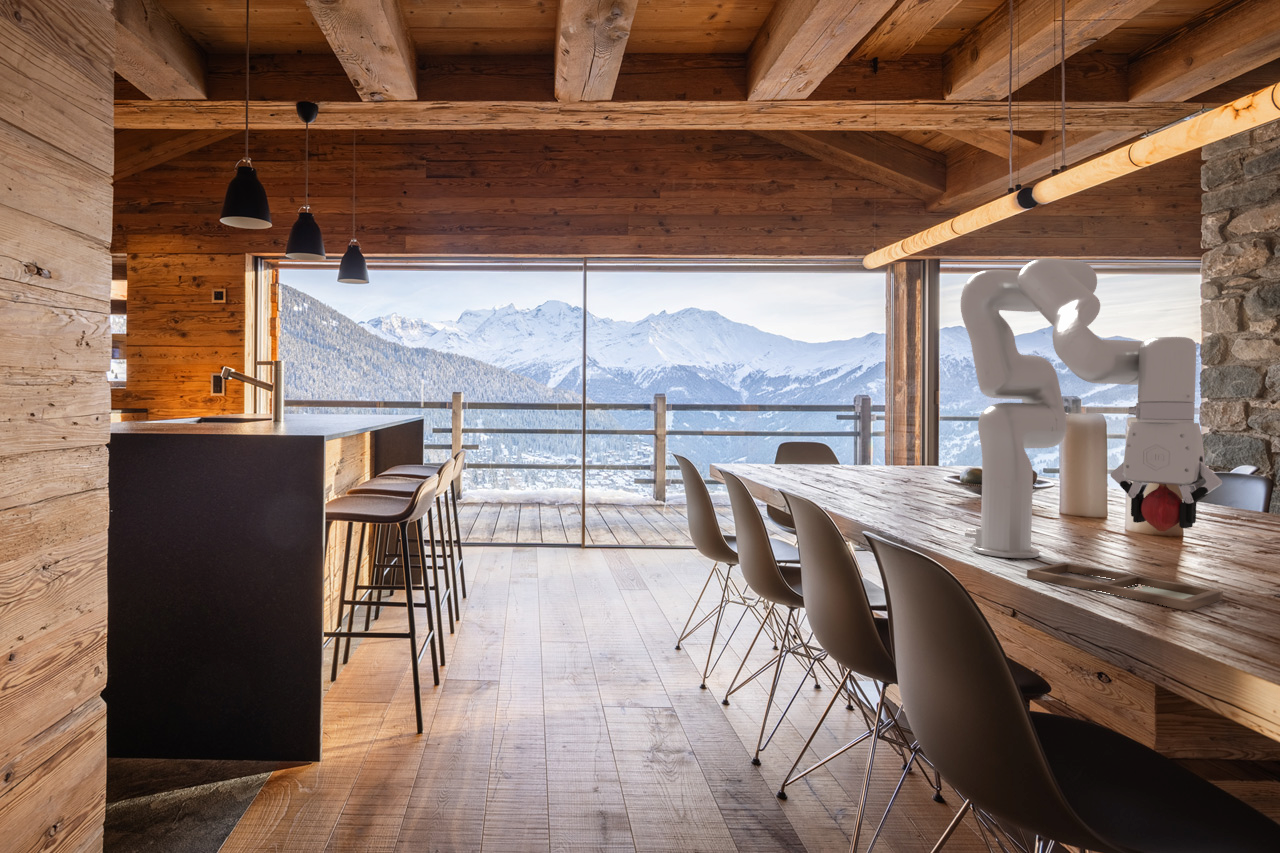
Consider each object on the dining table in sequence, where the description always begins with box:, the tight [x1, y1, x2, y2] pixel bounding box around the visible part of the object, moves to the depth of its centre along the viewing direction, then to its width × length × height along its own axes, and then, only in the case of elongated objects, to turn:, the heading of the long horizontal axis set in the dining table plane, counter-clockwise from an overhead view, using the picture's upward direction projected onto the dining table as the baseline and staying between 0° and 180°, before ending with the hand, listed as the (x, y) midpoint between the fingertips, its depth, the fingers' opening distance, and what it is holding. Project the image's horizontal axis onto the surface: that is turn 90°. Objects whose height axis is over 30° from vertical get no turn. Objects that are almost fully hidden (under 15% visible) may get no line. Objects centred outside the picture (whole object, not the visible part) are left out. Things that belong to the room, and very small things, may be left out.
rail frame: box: [1026, 562, 1224, 612], centre depth 123 cm, size 25×13×1 cm, turn 33°
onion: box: [1141, 484, 1183, 533], centre depth 118 cm, size 6×6×8 cm
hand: (1162, 523), depth 118 cm, fingers closed on onion, 5 cm apart
